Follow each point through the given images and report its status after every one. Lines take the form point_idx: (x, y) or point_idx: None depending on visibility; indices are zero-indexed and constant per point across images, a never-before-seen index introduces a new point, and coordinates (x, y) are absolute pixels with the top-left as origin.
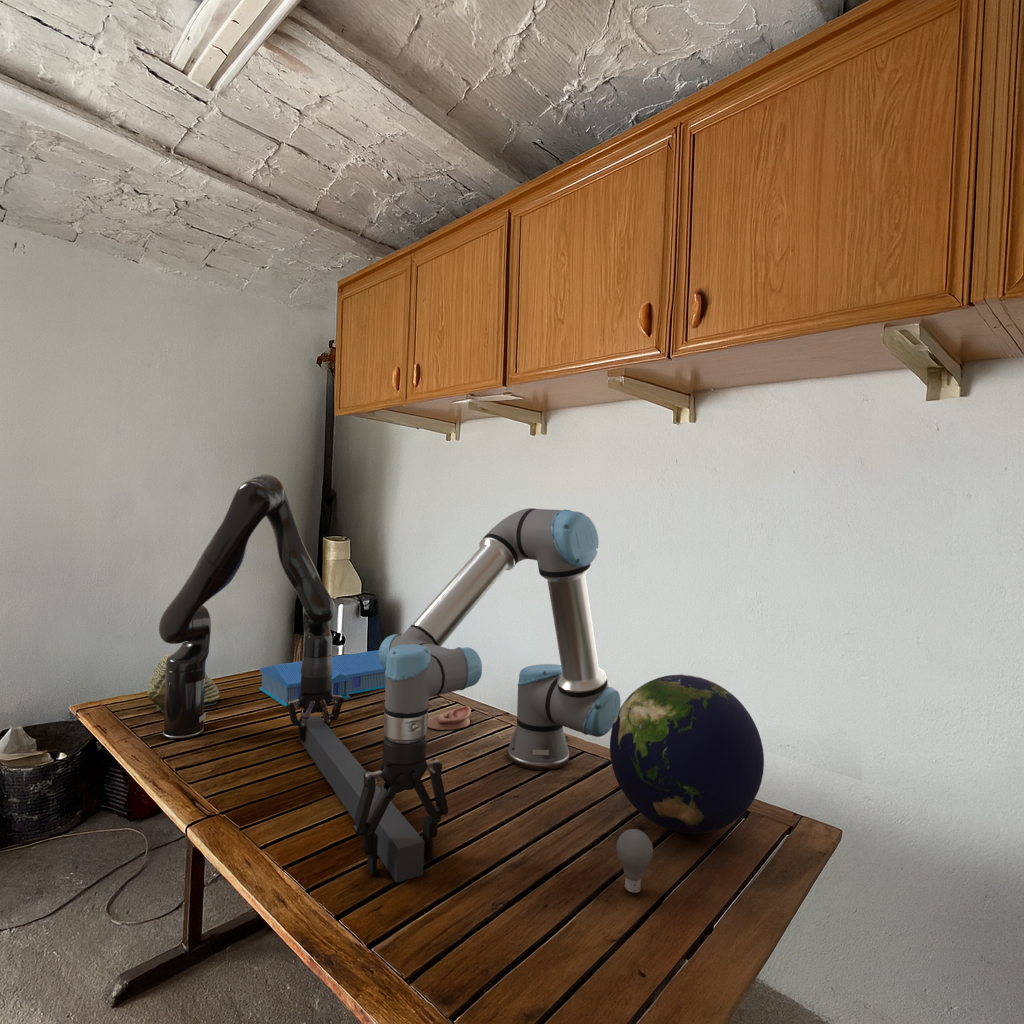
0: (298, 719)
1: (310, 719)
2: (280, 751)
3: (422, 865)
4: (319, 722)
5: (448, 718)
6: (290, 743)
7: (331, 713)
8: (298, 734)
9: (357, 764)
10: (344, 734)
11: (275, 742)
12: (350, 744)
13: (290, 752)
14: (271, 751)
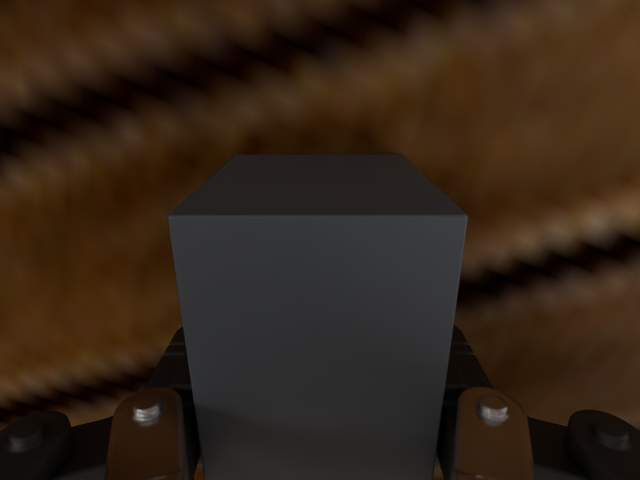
0: (91, 473)
1: (295, 338)
2: (76, 315)
3: None
4: (372, 462)
5: None
6: (155, 197)
7: (596, 468)
8: (172, 347)
9: None
10: (622, 185)
11: (29, 120)
12: (552, 382)
13: (144, 355)
14: (11, 291)
